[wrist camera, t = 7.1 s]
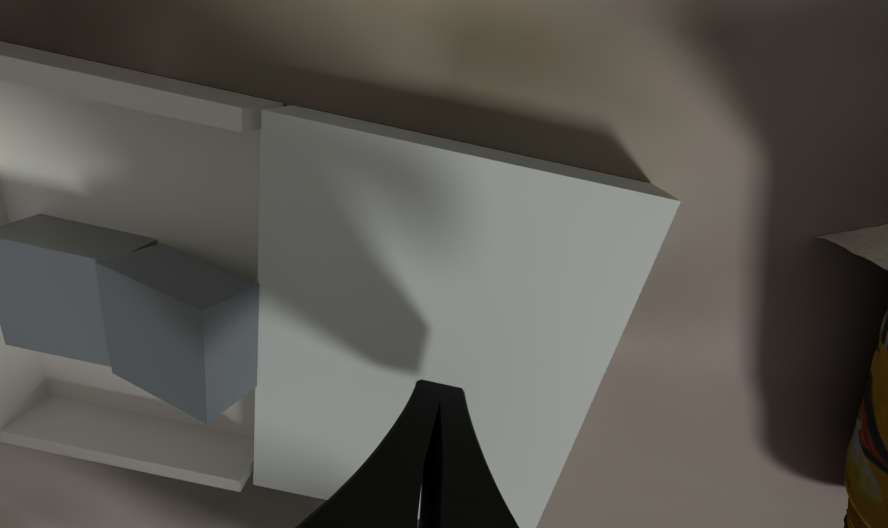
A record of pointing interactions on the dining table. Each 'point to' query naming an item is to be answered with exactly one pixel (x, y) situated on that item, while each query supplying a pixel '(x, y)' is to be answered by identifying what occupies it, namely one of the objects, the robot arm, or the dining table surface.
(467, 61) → the dining table surface
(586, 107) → the dining table surface
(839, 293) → the dining table surface
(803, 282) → the dining table surface
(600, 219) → the board
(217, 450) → the tray
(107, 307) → the tile front
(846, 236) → the condiment
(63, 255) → the tile rear
